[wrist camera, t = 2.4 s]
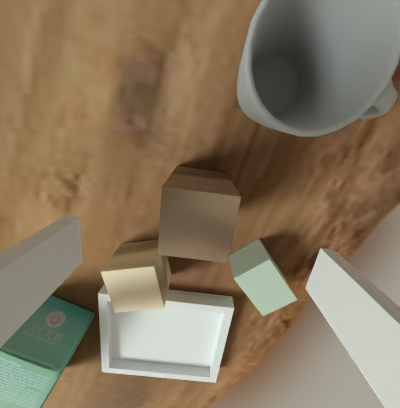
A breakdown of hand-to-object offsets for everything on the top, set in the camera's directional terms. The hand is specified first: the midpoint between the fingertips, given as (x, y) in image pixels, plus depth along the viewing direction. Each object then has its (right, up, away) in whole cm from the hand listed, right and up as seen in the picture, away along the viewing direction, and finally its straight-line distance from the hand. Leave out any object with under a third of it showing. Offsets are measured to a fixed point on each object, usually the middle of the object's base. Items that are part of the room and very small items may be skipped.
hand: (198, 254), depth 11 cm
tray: (-5, -14, +16) cm, 22 cm away
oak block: (-6, -4, +13) cm, 15 cm away
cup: (+7, +13, +7) cm, 16 cm away
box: (-20, -15, +17) cm, 30 cm away
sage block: (+7, -4, +13) cm, 15 cm away
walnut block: (0, +4, +10) cm, 11 cm away
